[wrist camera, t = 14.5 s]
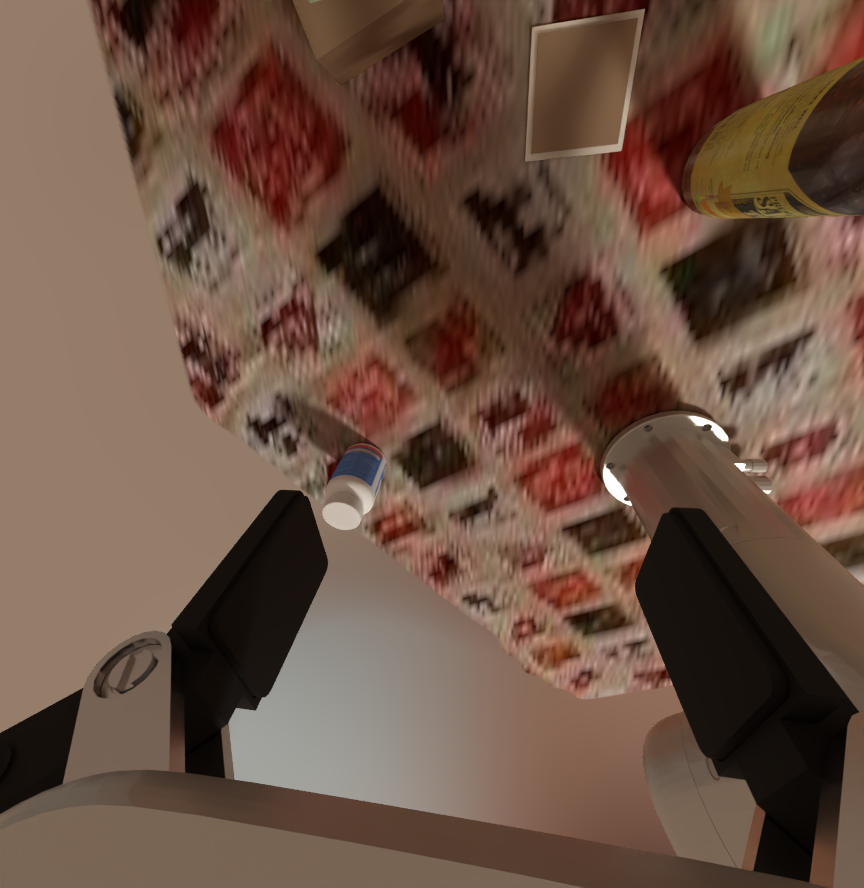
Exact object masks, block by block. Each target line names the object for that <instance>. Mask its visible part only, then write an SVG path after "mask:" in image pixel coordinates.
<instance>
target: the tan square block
mask: <svg viewBox="0 0 864 888" xmlns="http://www.w3.org/2000/svg"><path fill="white" fill-rule="evenodd" d="M293 3H294V6H295V8H296V11H297V13H298V16H299V18H300V21H301V23H302V26H303V28H304V31H305V34H306V36H307V39H308V41H309V44H310V46H311V49H312V51H313V54H314V56H315V59H316V61H317V62H318V63H319V64H320V65H321V66H322V67H323V68H324V69H325V70H326V71H327V72H328V73H329V74H330V75H331V76H332V77H333V78H334V79H336V80H337V81H338V82H339V83H340V84H341V85H342V84H344V83H345V82H347V81H349V80H350V79H352V78H353V77H355V76H356V75H358V74H360V73H361V72H363V71H364V70H366V69H367V68H369V67H371V66H372V65H374V64H375V63H377V62H378V61H380V60H382V59H383V58H385V57H386V56H388V55H389V54H391V53H393V52H394V51H396V50H397V49H399V48H400V47H402V46H404V45H405V44H407V43H408V42H410V41H411V40H413V39H415V38H416V37H418V36H419V35H421V34H422V33H424V32H426V31H427V30H429V29H430V28H432V27H434V26H435V25H437V24H438V23H440V22H441V21H443V20H445V15H444V8H443V2H442V0H321V1H317V2H314V3H311V4H310V2H309V1H308V0H293Z"/></svg>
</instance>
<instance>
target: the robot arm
mask: <svg viewBox="0 0 864 888" xmlns="http://www.w3.org/2000/svg"><path fill="white" fill-rule="evenodd" d="M767 467H768V465H767V462H766V461H765V460H763V459H746V460H740V458H738V457H737V456H736V455H735V454H734V453H732V452H731V444H730V441H729V437H728V435H727V434H726V432H725V431H724V429H723V428H722V427H720V426H719V425H718V424H717V423H716V422H715V421H713V420H712V419H710V418H709V417H707V416H705V415H702V414H699V413H696V412H690V411H667V412H662V413H657V414H654V415H650V416H647V417H645V418H642V419H640V420H638V421H636V422H634V423H632V424H631V425H629V426H628V427H626V428H625V429H623V430H622V431H621V432H620V433H619V434H618V435H616V436H615V437H614V438H613V440H612V441H611V442H610V443H609V445H608V446H607V448H606V450H605V451H604V453H603V456H602V459H601V463H600V474H601V478H602V481H603V483H604V485H605V487H606V489H607V490H608V491H609V493H610V494H611V495H612V496H614V497H615V498H616V499H617V500H619V501H621V502H623V503H625V504H628V505H631V506H633V508H634V510H635V512H636V513H637V515H638V517H639V519H640V521H641V523H642V524H643V526H644V528H645V530H646V532H647V534H648V535H649V537H650V539H651V544H650V546H649V549H648V551H647V554H646V556H645V559H644V562H643V564H642V567H641V569H640V572H639V574H638V577H637V579H636V583H635V591H636V595H637V598H638V600H639V603H640V605H641V608H642V610H643V613H644V615H645V617H646V620H647V622H648V625H649V627H650V630H651V632H652V635H653V637H654V639H655V642H656V644H657V647H658V649H659V652H660V654H661V657H662V659H663V661H664V664H665V666H666V669H667V671H668V674H669V676H670V679H671V681H672V683H673V686H674V688H675V691H676V693H677V696H678V698H679V700H680V703H681V705H682V708H683V710H684V711H683V712H680V713H677V714H674V715H671V716H669V717H666V718H664V719H663V720H661V721H659V722H657V723H656V724H655V725H654V726H653V727H652V728H651V729H650V730H649V732H648V733H647V735H646V738H645V741H644V744H643V756H642V757H643V768H644V774H645V779H646V783H647V787H648V790H649V793H650V796H651V798H652V802H653V804H654V807H655V810H656V812H657V815H658V817H659V820H660V822H661V824H662V826H663V828H664V831H665V833H666V835H667V837H668V839H669V841H670V843H671V845H672V847H673V849H674V850H675V853H676V855H677V856H672V855H667V854H661V853H655V852H650V851H644V850H639V849H633V848H627V847H621V846H616V845H611V844H605V843H600V842H594V841H589V840H583V839H577V838H571V837H566V836H561V835H555V834H549V833H544V832H538V831H532V830H526V829H521V828H515V827H509V826H504V825H498V824H492V823H487V822H480V821H475V820H469V819H464V818H458V817H452V816H446V815H440V814H434V813H429V812H423V811H418V810H412V809H406V808H400V807H394V806H388V805H383V804H377V803H371V802H365V801H359V800H353V799H347V798H342V797H336V796H329V795H323V794H318V793H311V792H306V791H300V790H294V789H288V788H282V787H276V786H271V785H265V784H259V783H253V782H245V781H239V780H234V771H233V761H232V752H231V742H230V733H229V725H228V722H229V720H230V718H231V716H232V714H233V712H234V710H235V709H236V708H242V709H249V710H256V709H257V707H258V705H259V702H260V700H261V698H262V697H266V696H267V695H268V694H269V692H270V691H271V689H272V687H273V685H274V683H275V681H276V678H277V676H278V674H279V672H280V670H281V668H282V666H283V663H284V661H285V659H286V657H287V655H288V653H289V651H290V648H291V646H292V644H293V642H294V640H295V637H296V635H297V633H298V631H299V629H300V627H301V625H302V623H303V620H304V618H305V616H306V614H307V612H308V610H309V607H310V605H311V603H312V601H313V599H314V597H315V595H316V592H317V590H318V588H319V586H320V584H321V582H322V580H323V577H324V575H325V573H326V571H327V566H328V559H327V555H326V552H325V549H324V546H323V543H322V539H321V536H320V533H319V530H318V527H317V524H316V520H315V517H314V514H313V511H312V508H311V504H310V501H309V499H308V497H307V496H304V495H303V493H302V492H301V491H296V490H279V491H278V492H277V493H276V494H275V495H274V496H273V497H272V499H271V500H270V501H269V503H268V504H267V505H266V506H265V507H264V509H263V510H262V511H261V513H260V514H259V515H258V516H257V518H256V519H255V520H254V521H253V523H252V524H251V525H250V527H249V528H248V529H247V530H246V532H245V533H244V534H243V535H242V536H241V538H240V539H239V540H238V542H237V543H236V544H235V545H234V547H233V548H232V549H231V550H230V552H229V553H228V554H227V556H226V557H225V558H224V559H223V560H222V562H221V563H220V564H219V565H218V567H217V568H216V570H215V571H214V572H213V573H212V574H211V576H210V577H209V578H208V579H207V581H206V582H205V583H204V585H203V586H202V587H201V588H200V589H199V591H198V592H197V593H196V594H195V596H194V597H193V598H192V600H191V601H190V602H189V603H188V605H187V606H186V607H185V608H184V610H183V611H182V612H181V613H180V615H179V616H178V617H177V618H176V620H175V621H174V622H173V624H172V628H171V629H170V631H169V632H168V633H167V634H165V633H163V632H159V631H151V632H144V633H141V634H139V635H135V636H133V637H131V638H129V639H127V640H126V641H124V642H122V643H120V644H119V645H118V646H116V647H115V648H114V649H112V650H111V651H110V652H108V653H107V654H106V655H105V656H104V657H103V658H102V659H101V660H100V661H99V662H98V664H96V666H95V667H94V669H93V670H92V672H91V673H90V674H89V676H88V678H87V680H86V683H85V685H84V688H82V689H80V690H78V691H77V692H75V693H73V694H71V695H69V696H68V697H66V698H64V699H62V700H60V701H58V702H56V703H55V704H53V705H51V706H49V707H47V708H46V709H44V710H42V711H40V712H38V713H36V714H34V715H33V716H31V717H29V718H27V719H25V720H23V721H22V722H20V723H18V724H16V725H14V726H12V727H11V728H9V729H7V730H5V731H3V732H1V733H0V888H864V585H863V584H862V583H860V582H859V581H858V580H857V579H856V578H855V577H854V576H853V575H852V574H851V573H850V572H848V571H847V570H846V569H845V568H844V567H843V566H842V565H841V564H840V563H839V562H838V561H837V560H836V559H835V558H834V557H832V556H831V555H830V554H829V553H828V552H827V551H826V550H825V549H824V548H823V547H822V546H821V545H820V544H819V543H818V542H816V541H815V540H814V539H813V538H812V537H811V536H810V535H809V534H808V533H807V532H806V531H805V530H804V529H803V528H802V527H801V526H800V525H798V524H797V523H796V522H795V521H794V520H793V519H792V518H791V517H790V516H789V515H788V514H787V513H786V512H785V511H784V510H783V509H782V508H781V507H779V506H778V505H777V504H776V503H775V502H774V501H773V500H772V499H771V498H770V497H769V496H768V495H767V494H769V493H770V492H771V491H772V483H771V481H770V479H769V478H768V477H766V476H747V475H746V474H745V473H744V472H748V473H762V472H765V471H766V470H767Z"/></svg>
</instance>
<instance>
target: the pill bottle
mask: <svg viewBox="0 0 864 888" xmlns="http://www.w3.org/2000/svg"><path fill="white" fill-rule="evenodd" d="M385 469H386V459H385V456H384V455H383V453H382V452H381V451H380V450H379V449H378V448H376V447H374V446H372V445H370V444H365V443H358V444H354V445H352V446H350V447H349V448H348V449H347V450H346V452H345V453H344V455H343V457H342V459H341V461H340V463H339V464H338V466H337V468H336V470H335V472H334V474H333V476H332V477H331V479H330V481H329V483H328V485H327V487H326V490H325V497H326V500H327V501H326V503H325V505H324V507H323V511H322V514H323V517H324V519H325V521H326V522H327V523H328V524H330V525H331V526H333V527H335V528H337V529H341V530H350V529H353V528H355V527H357V526H358V525H359V523H360V521H361V519H362V517H363V515H364V514H366V513H367V512H368V511H369V510H370V509H371V508H372V506H373V504H374V501H375V498H376V496H377V493H378V490H379V487H380V484H381V481H382V478H383V476H384V472H385Z"/></svg>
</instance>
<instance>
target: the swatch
mask: <svg viewBox="0 0 864 888" xmlns="http://www.w3.org/2000/svg"><path fill="white" fill-rule="evenodd" d="M644 12H645V9H641V10H635V11H629V12H623V13H617V14H610V15H604V16H598V17H592V18H586V19H580V20H573V21H567V22H561V23H555V24H549V25H543V26H536V27H532V36H531V55H530V75H529V94H528V114H527V133H526V153H525V162H528V161H537V160H546V159H555V158H564V157H573V156H582V155H590V154H599V153H608V152H617V151H622V145H623V139H624V133H625V127H626V120H627V114H628V108H629V102H630V96H631V90H632V84H633V78H634V72H635V66H636V60H637V54H638V48H639V42H640V36H641V30H642V24H643V18H644Z"/></svg>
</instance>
